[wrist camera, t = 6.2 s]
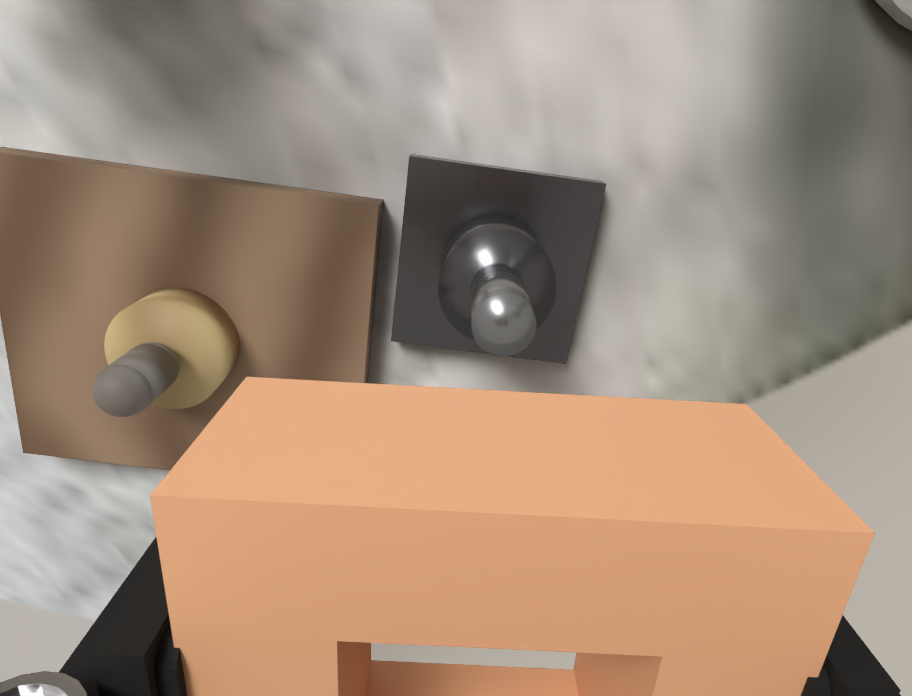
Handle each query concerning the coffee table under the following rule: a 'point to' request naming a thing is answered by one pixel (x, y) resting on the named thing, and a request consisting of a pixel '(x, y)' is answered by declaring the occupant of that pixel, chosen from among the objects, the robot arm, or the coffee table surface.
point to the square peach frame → (498, 544)
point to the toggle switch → (170, 299)
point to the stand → (493, 258)
